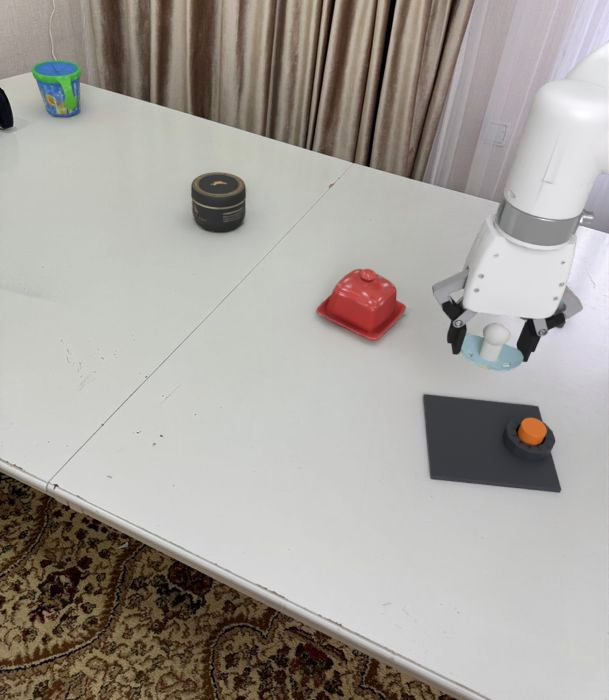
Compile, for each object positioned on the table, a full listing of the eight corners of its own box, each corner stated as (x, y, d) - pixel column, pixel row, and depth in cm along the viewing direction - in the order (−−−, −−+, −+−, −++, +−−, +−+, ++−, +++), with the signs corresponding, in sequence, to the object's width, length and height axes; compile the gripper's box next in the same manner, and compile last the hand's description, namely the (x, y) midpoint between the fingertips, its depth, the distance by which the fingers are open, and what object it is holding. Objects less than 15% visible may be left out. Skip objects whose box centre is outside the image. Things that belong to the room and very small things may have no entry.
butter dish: (409, 311, 101) (419, 268, 95) (374, 348, 94) (383, 304, 88) (349, 284, 105) (355, 241, 100) (311, 318, 98) (316, 274, 92)
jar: (182, 217, 118) (179, 180, 112) (225, 202, 123) (224, 166, 118) (213, 240, 112) (211, 203, 107) (256, 224, 118) (257, 187, 112)
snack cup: (94, 122, 146) (87, 77, 139) (47, 127, 142) (37, 81, 135) (79, 97, 156) (72, 55, 149) (35, 102, 152) (26, 58, 145)
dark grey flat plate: (537, 409, 87) (543, 397, 85) (560, 493, 76) (567, 481, 75) (422, 397, 87) (426, 384, 85) (430, 479, 77) (434, 467, 75)
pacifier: (461, 335, 77) (451, 364, 72) (474, 294, 73) (464, 322, 68) (521, 353, 75) (515, 384, 71) (538, 312, 71) (532, 342, 67)
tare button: (539, 427, 81) (544, 418, 80) (544, 446, 79) (549, 437, 78) (515, 425, 81) (519, 416, 80) (519, 444, 79) (524, 435, 78)
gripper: (613, 207, 64) (554, 337, 75) (444, 189, 64) (412, 322, 76) (637, 247, 58) (569, 380, 70) (451, 227, 58) (415, 364, 70)
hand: (488, 349), depth 73 cm, fingers closed on pacifier, 7 cm apart
